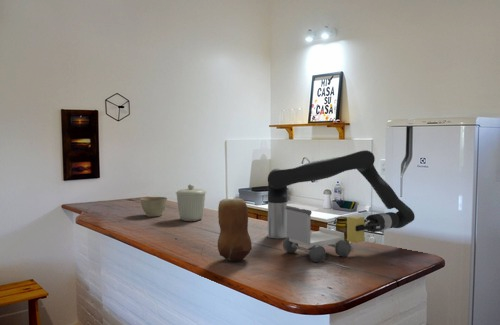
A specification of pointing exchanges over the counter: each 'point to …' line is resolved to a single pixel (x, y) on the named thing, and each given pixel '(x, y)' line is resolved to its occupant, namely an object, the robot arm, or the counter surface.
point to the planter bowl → (154, 205)
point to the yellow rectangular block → (351, 232)
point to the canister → (191, 203)
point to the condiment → (342, 227)
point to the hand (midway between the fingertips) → (351, 227)
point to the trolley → (311, 236)
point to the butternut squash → (233, 229)
